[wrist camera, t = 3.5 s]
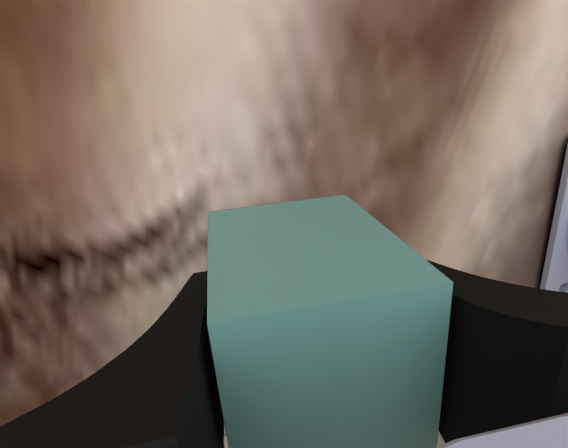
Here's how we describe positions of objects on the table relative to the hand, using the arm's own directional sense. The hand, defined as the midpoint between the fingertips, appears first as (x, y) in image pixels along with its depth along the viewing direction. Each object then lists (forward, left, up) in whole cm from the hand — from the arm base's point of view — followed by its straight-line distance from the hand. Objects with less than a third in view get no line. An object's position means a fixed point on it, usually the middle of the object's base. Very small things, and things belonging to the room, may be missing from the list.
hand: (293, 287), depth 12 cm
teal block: (0, 0, -2) cm, 2 cm away
